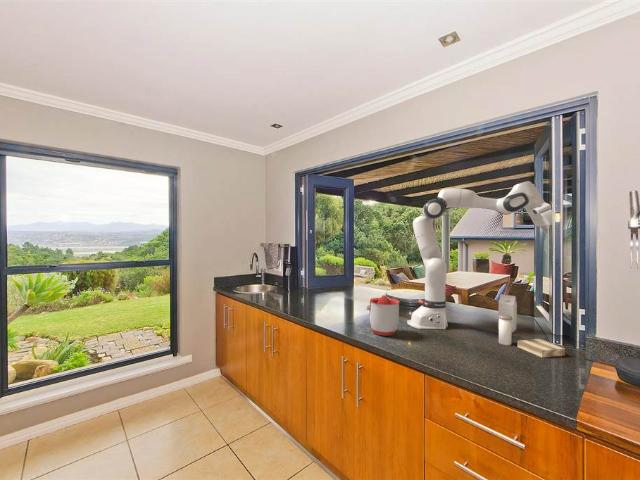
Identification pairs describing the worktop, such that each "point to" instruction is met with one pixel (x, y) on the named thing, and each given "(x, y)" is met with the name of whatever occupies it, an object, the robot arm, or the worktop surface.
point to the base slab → (541, 348)
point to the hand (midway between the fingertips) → (551, 232)
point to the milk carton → (508, 308)
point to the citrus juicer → (384, 315)
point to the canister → (505, 329)
